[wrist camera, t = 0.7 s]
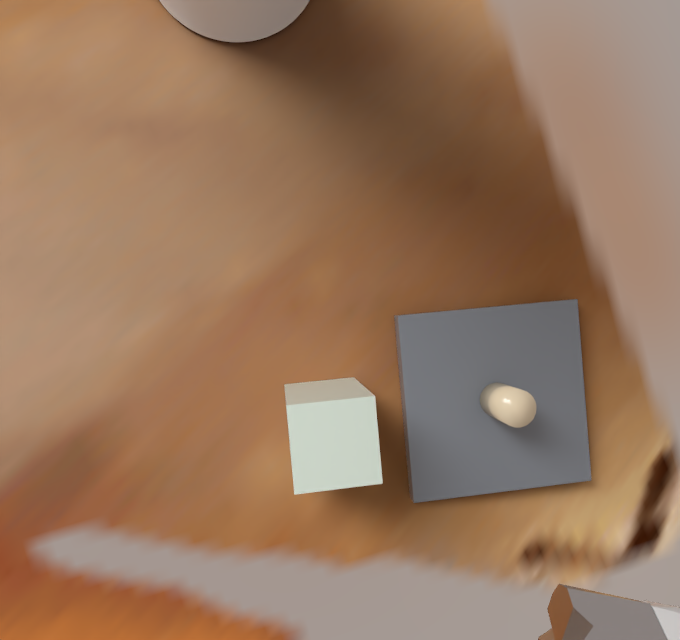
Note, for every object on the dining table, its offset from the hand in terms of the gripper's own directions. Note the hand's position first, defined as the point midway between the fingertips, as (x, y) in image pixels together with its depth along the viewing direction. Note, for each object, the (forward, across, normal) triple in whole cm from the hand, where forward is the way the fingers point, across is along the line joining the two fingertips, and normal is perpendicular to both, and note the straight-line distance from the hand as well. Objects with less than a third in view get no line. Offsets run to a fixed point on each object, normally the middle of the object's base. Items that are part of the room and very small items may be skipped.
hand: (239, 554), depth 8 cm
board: (+43, -11, +15) cm, 46 cm away
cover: (+38, +3, +18) cm, 43 cm away
